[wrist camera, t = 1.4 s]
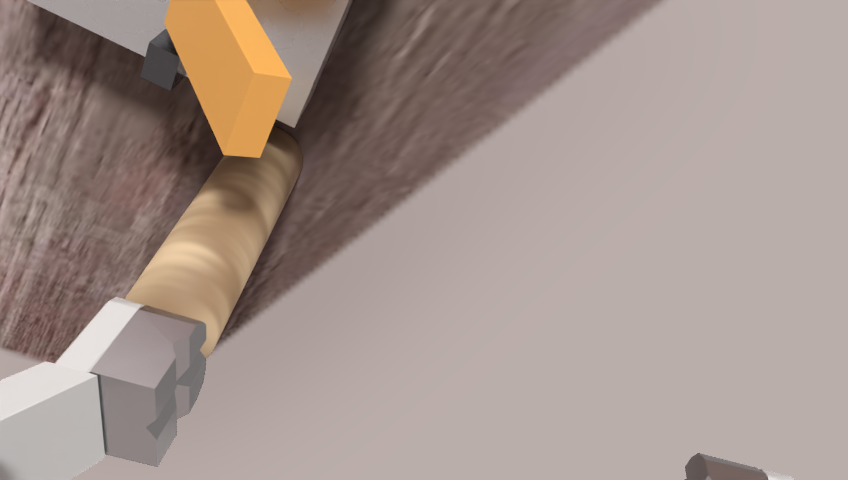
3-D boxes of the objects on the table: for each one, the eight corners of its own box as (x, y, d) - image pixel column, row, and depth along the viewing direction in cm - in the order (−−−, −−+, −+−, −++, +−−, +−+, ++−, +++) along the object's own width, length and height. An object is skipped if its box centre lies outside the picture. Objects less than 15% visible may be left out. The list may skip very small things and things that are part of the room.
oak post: (224, 168, 46) (108, 340, 33) (245, 111, 43) (129, 273, 30) (288, 197, 47) (201, 377, 34) (313, 144, 44) (228, 315, 31)
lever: (159, 17, 36) (222, 158, 30) (182, -67, 33) (255, 68, 27) (191, 23, 37) (258, 161, 31) (215, -58, 34) (293, 74, 28)
